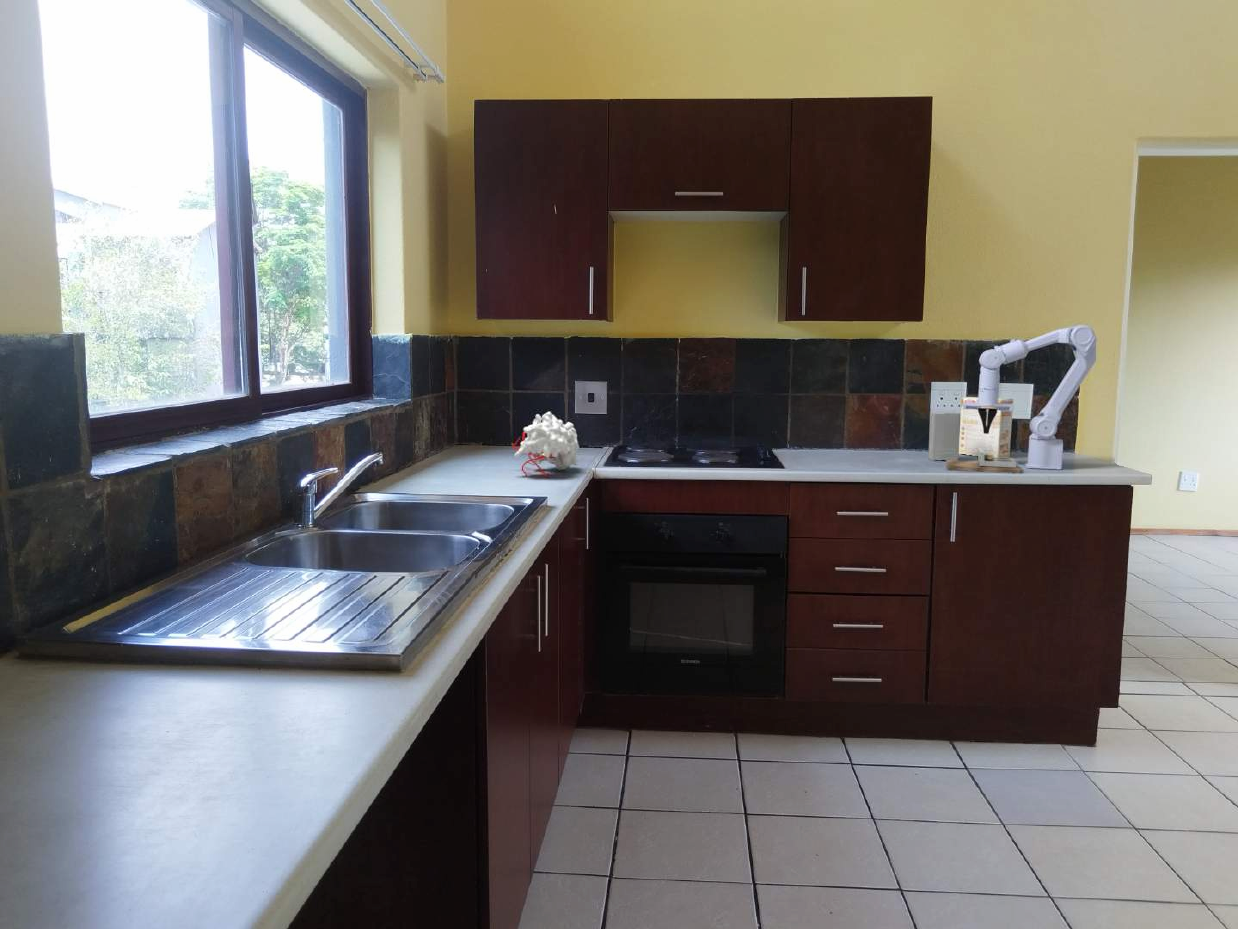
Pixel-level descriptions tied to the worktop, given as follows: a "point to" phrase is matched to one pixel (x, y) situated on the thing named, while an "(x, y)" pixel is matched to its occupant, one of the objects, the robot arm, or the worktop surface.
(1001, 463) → the panel
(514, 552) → the worktop surface
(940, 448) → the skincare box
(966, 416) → the coffeecake box
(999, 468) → the board
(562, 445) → the molecular structure model
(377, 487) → the worktop surface
